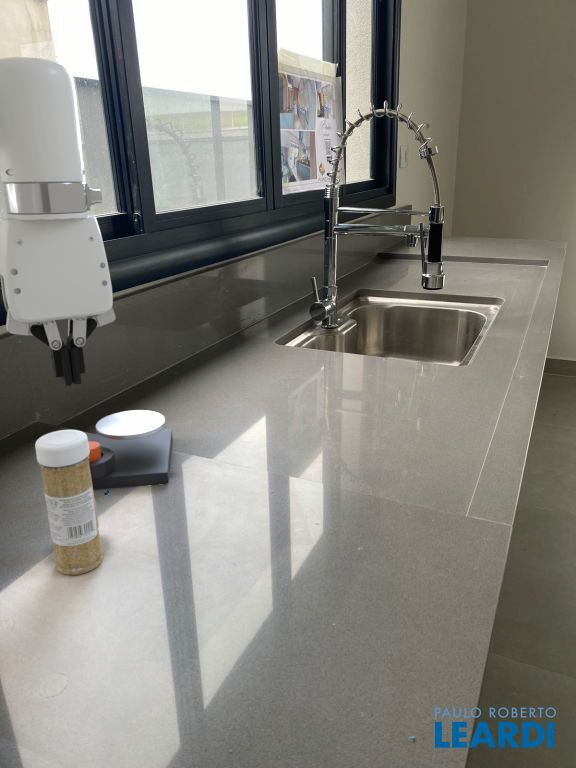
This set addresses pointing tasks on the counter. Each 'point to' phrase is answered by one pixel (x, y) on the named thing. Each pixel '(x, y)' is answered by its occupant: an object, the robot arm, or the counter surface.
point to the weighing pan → (130, 424)
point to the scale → (132, 461)
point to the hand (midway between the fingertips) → (70, 381)
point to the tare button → (94, 451)
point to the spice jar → (70, 500)
